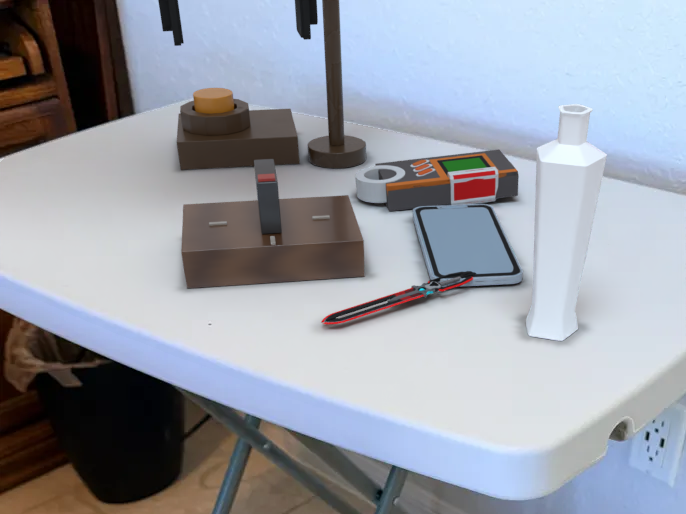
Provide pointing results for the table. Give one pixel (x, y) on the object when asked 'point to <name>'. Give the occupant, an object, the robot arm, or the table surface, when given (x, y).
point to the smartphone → (466, 244)
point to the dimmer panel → (271, 242)
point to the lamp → (335, 103)
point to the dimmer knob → (267, 196)
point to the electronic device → (439, 180)
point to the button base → (235, 137)
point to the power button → (213, 100)
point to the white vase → (563, 222)
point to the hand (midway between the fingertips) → (241, 38)
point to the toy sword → (400, 297)
